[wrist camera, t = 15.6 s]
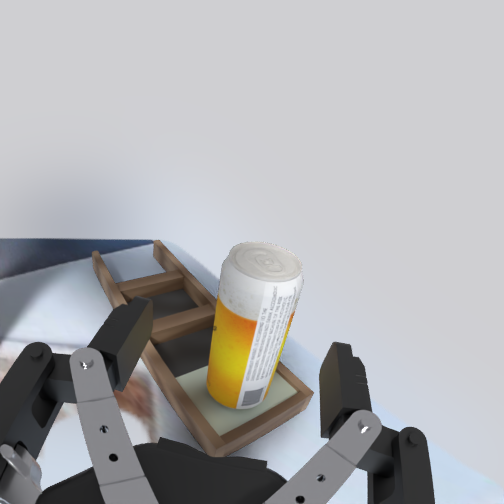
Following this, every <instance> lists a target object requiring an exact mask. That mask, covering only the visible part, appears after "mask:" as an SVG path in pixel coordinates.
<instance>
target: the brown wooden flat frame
mask: <svg viewBox="0 0 504 504" xmlns="http://www.w3.org/2000/svg"><path fill="white" fill-rule="evenodd" d="M153 256H154V258H155V259H156V260H157V261H158V262H159V264H160V265H161V266H162V267H163V268H164V270H165V271H166V272H165V273H161V274H156V275H152V276H147V277H143V278H138V279H133V280H129V281H124V282H120V283H115V282H114V280H113V278H112V276H111V275H110V273H109V271H108V269H107V267H106V265H105V264H104V262H103V260H102V258H101V256H100V254H99V252H98V251H93V252H92V260H93V269H94V271H95V273H96V275H97V277H98V279H99V281H100V283H101V286H102V288H103V290H104V292H105V294H106V296H107V297H108V299H109V301H110V303H111V305H112V307H113V309H115V308H116V307H118V306H120V305H121V304H126V305H129V304H130V303H131V301H132V300H133V298H134V297H135V296H140V297H143V298H147V299H151V300H152V301H153V329H152V333H151V337H150V339H149V341H148V343H147V345H146V347H145V348H144V350H143V352H142V354H141V356H140V357H141V359H142V361H143V362H144V364H145V365H146V367H147V369H148V370H149V372H150V374H151V375H152V377H153V378H154V380H155V381H156V383H157V385H158V386H159V388H160V389H161V391H162V392H163V394H164V395H165V397H166V398H167V400H168V401H169V403H170V404H171V406H172V407H173V409H174V410H175V411H176V413H177V414H178V416H179V417H180V419H181V420H182V421H183V423H184V424H185V426H186V427H187V428H188V430H189V431H190V432H191V434H192V435H193V437H194V438H195V439H196V441H197V442H198V443H199V445H200V446H201V447H202V448H203V450H204V451H205V452H206V454H207V455H209V456H211V457H226V456H228V455H229V454H231V453H233V452H235V451H237V450H239V449H241V448H242V447H244V446H246V445H248V444H250V443H251V442H253V441H255V440H257V439H258V438H260V437H262V436H263V435H265V434H267V433H268V432H270V431H272V430H273V429H275V428H277V427H278V426H280V425H281V424H283V423H285V422H286V421H288V420H289V419H291V418H293V417H294V416H296V415H297V414H299V413H300V412H302V411H303V410H305V409H306V407H307V406H308V404H309V402H310V400H311V398H312V396H313V394H314V392H313V391H312V390H311V389H309V388H308V387H307V386H306V385H305V384H304V383H303V382H302V381H301V380H300V379H298V378H297V377H296V376H295V375H294V374H293V373H292V372H291V371H290V370H289V369H288V368H286V367H285V366H284V365H283V364H282V363H281V362H280V361H279V362H278V365H277V368H276V371H275V373H274V376H273V379H272V382H271V385H270V388H269V391H268V394H267V396H266V398H265V399H264V400H263V401H262V402H261V403H260V404H259V405H257V406H255V407H252V408H248V409H232V408H228V407H226V406H224V405H222V404H220V403H219V402H217V401H216V400H215V399H214V398H213V397H212V396H211V395H210V393H209V391H208V389H207V385H206V380H207V372H208V364H209V356H210V349H211V341H212V333H213V326H214V318H215V311H216V304H217V300H216V299H215V298H214V297H213V296H212V295H211V294H210V293H209V292H208V291H207V290H206V289H205V288H204V286H203V285H202V284H201V283H200V282H199V281H198V280H197V279H196V278H195V277H194V276H193V275H192V274H191V273H190V272H189V271H188V270H187V269H186V268H185V267H184V266H183V265H182V264H181V263H180V262H179V261H178V259H177V258H176V257H175V256H174V255H173V254H172V253H171V252H170V251H169V250H168V249H167V248H166V247H165V246H164V245H163V243H162V242H161V241H160V240H155V241H154V249H153Z"/></svg>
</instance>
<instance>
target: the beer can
mask: <svg viewBox="0 0 504 504" xmlns="http://www.w3.org/2000/svg"><path fill="white" fill-rule="evenodd" d="M303 282H304V280H303V275H302V264H301V261H300V260H299V259H298V257H297V256H296V255H294V254H293V253H292V252H290V251H288V250H287V249H285V248H282V247H279V246H277V245H274V244H270V243H264V242H245V243H241V244H238V245H236V246H234V247H233V248H232V249H231V251H230V253H229V255H228V257H227V258H226V259H225V260H224V262H223V264H222V269H221V276H220V283H219V290H218V297H217V304H216V311H215V318H214V326H213V333H212V341H211V349H210V356H209V364H208V372H207V380H206V385H207V389H208V391H209V393H210V395H211V396H212V397H213V398H214V399H215V400H216V401H217V402H219V403H220V404H222V405H224V406H226V407H228V408H232V409H248V408H252V407H255V406H257V405H259V404H260V403H261V402H262V401H263V400H264V399H265V398H266V396H267V394H268V391H269V388H270V385H271V382H272V379H273V376H274V373H275V371H276V368H277V365H278V362H279V359H280V356H281V353H282V350H283V347H284V344H285V341H286V337H287V334H288V331H289V328H290V325H291V322H292V318H293V316H294V312H295V309H296V306H297V303H298V300H299V296H300V293H301V290H302V286H303Z"/></svg>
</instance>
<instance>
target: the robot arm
mask: <svg viewBox="0 0 504 504" xmlns="http://www.w3.org/2000/svg"><path fill="white" fill-rule="evenodd" d="M152 329H153V301H152V300H151V299H147V298H143V297H140V296H135V297H134V298H133V300H132V301H131V303H130V304H129V305H126V304H121V305H120V306H118V307H116V308H115V309H113V311H112V312H111V314H110V315H109V316H108V318H107V319H106V321H105V322H104V325H102V326H101V328H100V329H99V331H98V332H97V333H96V335H95V336H94V338H93V339H92V341H91V342H90V344H89V345H88V346H87V348H81V349H78V350H76V351H75V352H74V353H73V354H72V355H66V354H56V353H52V351H51V348H50V347H49V346H48V345H47V344H45V343H42V342H34V343H31V344H29V345H27V346H26V347H25V348H24V349H23V351H22V352H21V354H20V355H19V357H18V358H17V359H16V361H15V362H14V364H13V365H12V367H11V368H10V370H9V371H8V373H7V374H6V376H5V377H4V379H3V380H2V382H1V383H0V503H2V504H326V503H327V502H328V501H329V500H330V499H331V498H332V496H333V495H334V494H335V493H336V492H337V491H338V489H339V488H340V487H341V486H342V485H343V483H344V482H345V481H346V480H347V479H348V477H349V476H350V475H351V474H352V472H353V471H354V470H355V468H359V469H362V470H365V471H367V476H368V504H435V498H434V489H433V480H432V473H431V465H430V458H429V452H428V446H427V440H426V437H425V435H424V434H423V433H422V432H421V431H420V430H419V429H417V428H414V427H406V428H404V429H402V430H401V431H400V432H398V431H395V430H392V429H390V428H387V427H385V426H383V425H382V424H381V421H380V419H379V418H378V417H377V416H376V415H375V414H374V413H372V408H371V401H370V395H369V389H368V385H367V378H366V372H365V367H364V365H363V363H362V362H361V360H360V359H359V357H353V355H352V349H351V345H350V344H345V343H339V342H333V343H332V345H331V347H330V349H329V351H328V353H327V356H326V357H325V359H324V361H323V363H322V366H321V369H320V374H319V386H320V421H321V438H329V441H328V443H327V444H325V445H324V446H323V447H322V448H321V449H320V450H319V451H318V452H317V453H316V454H315V455H314V456H313V457H312V458H311V459H310V460H309V461H308V462H307V463H306V464H305V465H304V466H303V467H302V468H301V469H300V470H299V471H298V472H297V473H296V474H295V475H294V476H293V477H292V478H291V479H290V480H289V481H287V480H286V479H285V478H283V477H282V476H281V475H279V474H278V473H276V472H275V471H273V470H271V469H268V468H266V467H267V461H263V460H257V459H251V458H245V457H211V456H209V455H207V454H204V453H202V452H200V451H198V450H196V449H194V448H192V447H190V446H188V445H186V444H183V443H179V442H176V441H172V440H169V439H165V438H162V437H160V439H159V441H158V443H145V444H139V445H135V446H132V443H131V441H130V438H129V435H128V433H127V430H126V428H125V425H124V422H123V419H122V416H121V413H120V410H119V407H118V404H117V401H116V398H115V396H114V394H113V392H114V390H118V391H121V392H123V390H124V388H125V386H126V384H127V382H128V380H129V378H130V376H131V374H132V372H133V370H134V368H135V366H136V364H137V362H138V360H139V358H140V356H141V354H142V352H143V350H144V348H145V347H146V345H147V343H148V341H149V339H150V337H151V333H152ZM64 402H66V403H75V404H77V409H78V414H79V418H80V422H81V426H82V430H83V434H84V437H85V441H86V444H87V448H88V451H89V455H90V458H91V461H92V464H93V467H91V468H89V469H87V470H85V471H83V472H80V473H78V474H76V475H74V476H72V477H70V478H68V479H66V480H63V481H61V482H59V483H57V484H55V485H52V486H50V487H48V488H46V489H45V490H44V491H43V492H42V490H41V486H40V480H41V476H42V472H41V468H40V466H39V464H38V463H37V462H36V459H37V457H38V455H39V453H40V450H41V448H42V446H43V444H44V442H45V440H46V437H47V435H48V433H49V431H50V429H51V427H52V425H53V423H54V421H55V419H56V417H57V415H58V413H59V411H60V409H61V407H62V405H63V403H64Z"/></svg>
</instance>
